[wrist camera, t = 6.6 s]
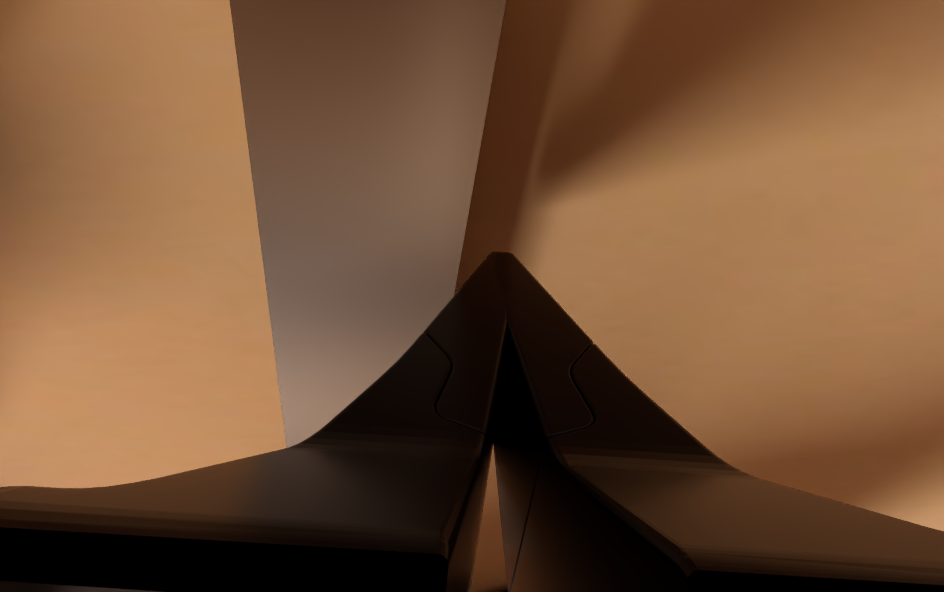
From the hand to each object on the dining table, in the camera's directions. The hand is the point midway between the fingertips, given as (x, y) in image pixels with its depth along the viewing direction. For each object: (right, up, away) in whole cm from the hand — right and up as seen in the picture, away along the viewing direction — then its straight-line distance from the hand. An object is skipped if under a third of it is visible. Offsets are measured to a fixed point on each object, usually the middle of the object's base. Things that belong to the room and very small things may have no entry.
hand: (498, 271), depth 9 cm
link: (-3, -1, +2) cm, 4 cm away
